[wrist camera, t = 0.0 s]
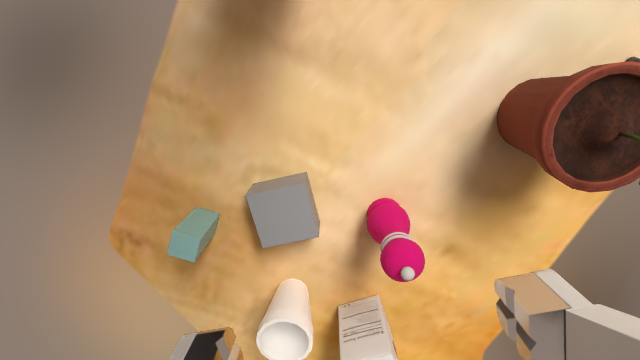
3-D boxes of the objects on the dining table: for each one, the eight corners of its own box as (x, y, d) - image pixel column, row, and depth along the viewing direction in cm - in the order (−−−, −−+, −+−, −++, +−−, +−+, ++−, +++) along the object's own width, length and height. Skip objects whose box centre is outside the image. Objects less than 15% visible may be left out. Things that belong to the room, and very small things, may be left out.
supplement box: (391, 327, 69) (407, 394, 55) (350, 338, 70) (355, 406, 56) (379, 293, 66) (392, 353, 52) (336, 304, 68) (339, 366, 53)
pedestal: (253, 183, 60) (245, 195, 54) (306, 171, 59) (304, 182, 53) (268, 232, 63) (262, 248, 57) (319, 221, 62) (318, 237, 56)
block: (191, 226, 63) (167, 254, 53) (196, 206, 62) (172, 230, 52) (214, 234, 63) (194, 262, 54) (220, 213, 62) (200, 239, 52)
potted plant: (496, 50, 52) (638, 33, 28) (635, 57, 52) (896, 44, 28) (475, 159, 57) (578, 222, 34) (600, 166, 57) (793, 232, 33)
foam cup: (273, 312, 69) (260, 365, 56) (265, 274, 66) (251, 321, 53) (318, 309, 68) (316, 361, 56) (313, 270, 65) (309, 316, 53)
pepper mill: (374, 236, 63) (394, 308, 44) (358, 205, 61) (371, 266, 42) (409, 221, 61) (446, 288, 42) (394, 188, 59) (425, 243, 40)
